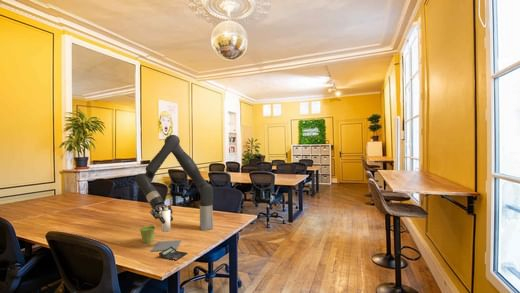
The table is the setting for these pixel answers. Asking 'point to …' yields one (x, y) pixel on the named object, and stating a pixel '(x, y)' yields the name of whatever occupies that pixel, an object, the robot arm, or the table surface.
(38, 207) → the table surface
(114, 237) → the table surface
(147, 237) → the plant pot
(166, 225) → the bottle
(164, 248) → the mat
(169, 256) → the calculator
